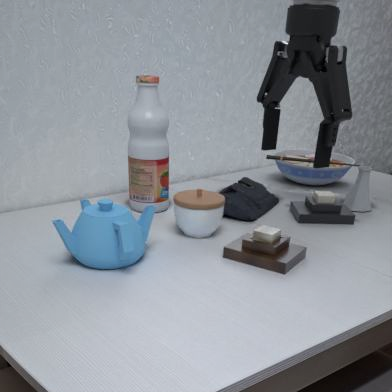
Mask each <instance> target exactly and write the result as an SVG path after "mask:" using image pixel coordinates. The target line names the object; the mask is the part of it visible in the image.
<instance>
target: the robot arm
mask: <svg viewBox="0 0 392 392" xmlns="http://www.w3.org/2000/svg"><path fill="white" fill-rule="evenodd" d="M342 1H343V0H292V4H290V5H289V7H287V11H286V18H285V19H286V21H285V29H284V31H285V34H286V35H287V36H289V38H288V40H276V41H275V42H274V44H273V50H272V55H271V59H270V61H269V64H268V67H267V70H266V72H265V75H264V77H263V79H262V82H261V85H260V87H259V91H258V93H257V96H256V102H257V103H258V104H259V103H260V104H261V105H262V108H263V119H262V131H263V132H262V138H261V149H260V150H261V151H264V152H265V151H274V150H277V142H278V135H279V127H280V119H281V111H282V109H281V104H280V103H281V102H282V100H283V99H284V97H285V96H286V95H287V93H288V91H289V90H290V89H291V87H292V85H293V84H294V82H295V81H296V80H297V79H298V78H300V77H301V78H303V79H308V81H309V82H310V83H312V87H313V89H314V92H315V96H316V98H317V102H318V105H319V107H320V110H321V113H322V117H323V119H322V120H321V122H319V126H318V132H317V133H318V134H317V139H316V144H315V145H316V146H315V150H316V151H315V157H314V164H313V168H316V169H317V168H325V167H329V165H330V159H331V153H332V152H333V147H335V145H336V144H337V139H338V134H339V127H340V124H341V123H342V122H345V121H350V120H351V119H352V118H353V109H352V102H351V101H352V100H351V93H350V85H349V78H348V71H347V56H348V47H347V45H339V44H337V45H336V44H335V45H334V44H333V45H332V38H335V36H336V35H337V32H338V27H339V20H340V15H341V9H340V7H339V6H338V3H340V2H342Z"/></svg>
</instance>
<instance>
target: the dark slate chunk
mask: <svg viewBox="0 0 392 392" xmlns="http://www.w3.org/2000/svg"><path fill="white" fill-rule="evenodd" d="M218 193H219V194H222V195H223V196H224V197H225V204H224V213H223V216H228V217H231V218H235V219H238V220H240V221H245V222H246V221H247V222H252V221H255V220H257V219H260V218H261V217H262V216H264V215H265V214H267V213H268V212H270V210H272V209H273V208H274V207H276V206H277V204H278V203H279V202H280V199H279V197H278V196H276V195H275V194H274V193H271V192H270V191H268V189H267V187H266V186H265V185H263V184H262V183H260V182H258V181H255V180H252V179H251V178H249V177H247V176H243V177H242V178H241V179H239V180H237V182H233V183H232V184H230V185H228V186H226V187H224V188H223V189H222V190H220V191H219V192H218Z"/></svg>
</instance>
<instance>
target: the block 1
mask: <svg viewBox="0 0 392 392" xmlns="http://www.w3.org/2000/svg"><path fill="white" fill-rule="evenodd" d="M290 241H291V236H288V235H284V234H281V237H280V239H279V240H278V241H277V242H275V243H274V244H269V243H265V242H261V241H257V240H253V232H252V233H251V232H246V233H245V234H242V235H241V236H239V237H238V238H236V239H234V240H232V241H231V242H230V243H228V244H226V245H224V246H223V250H222V258H224V259H226V260H230V261H234V262H238V263H241V264H244V265H247V266H251V267H255V268H259V269H263V270H266V271H270V272H273V273H274V272H275V273H277V274H281V275H283V276H284V275H286V274H287V273H289V272H290V271H291V270H292V269H293V268H295V267H296V266H297V265H298V264H299V263H300V262H302V261H303V260H304V259H305V258H306V254H307V249H308V247H307V246H304V245H300V244H296V243H293V242H290Z"/></svg>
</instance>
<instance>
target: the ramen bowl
mask: <svg viewBox="0 0 392 392" xmlns="http://www.w3.org/2000/svg"><path fill="white" fill-rule="evenodd" d="M315 151H316V149H307V148H293V149H291V148H290V149H281V150H277V151H275V152H274V153H272V154H266V157H265V159H266V160H274V162H275V164H276V167H277V168H278V170H279V172H280V173H281V175H282V176H284V177H285V178H287V179H288V180H290V181H292V182H294V183H296V184H299V185H305V186H315V187H317V186H318V187H319V186H325V185H329V184H333V183H335V182H337V181H339V180H341V179H343V178H344V176H345V175H346V174H347V173H348V171H350V169H352V167H359V166H361V164H355V163H356V160H355V159H354V158H352V157H350V156H348V155H345V154H342V153H338V152H333V151H332V153H331V159H330V165H329V167H325V168H317V169H316V168H313V164H314V157H315Z"/></svg>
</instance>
